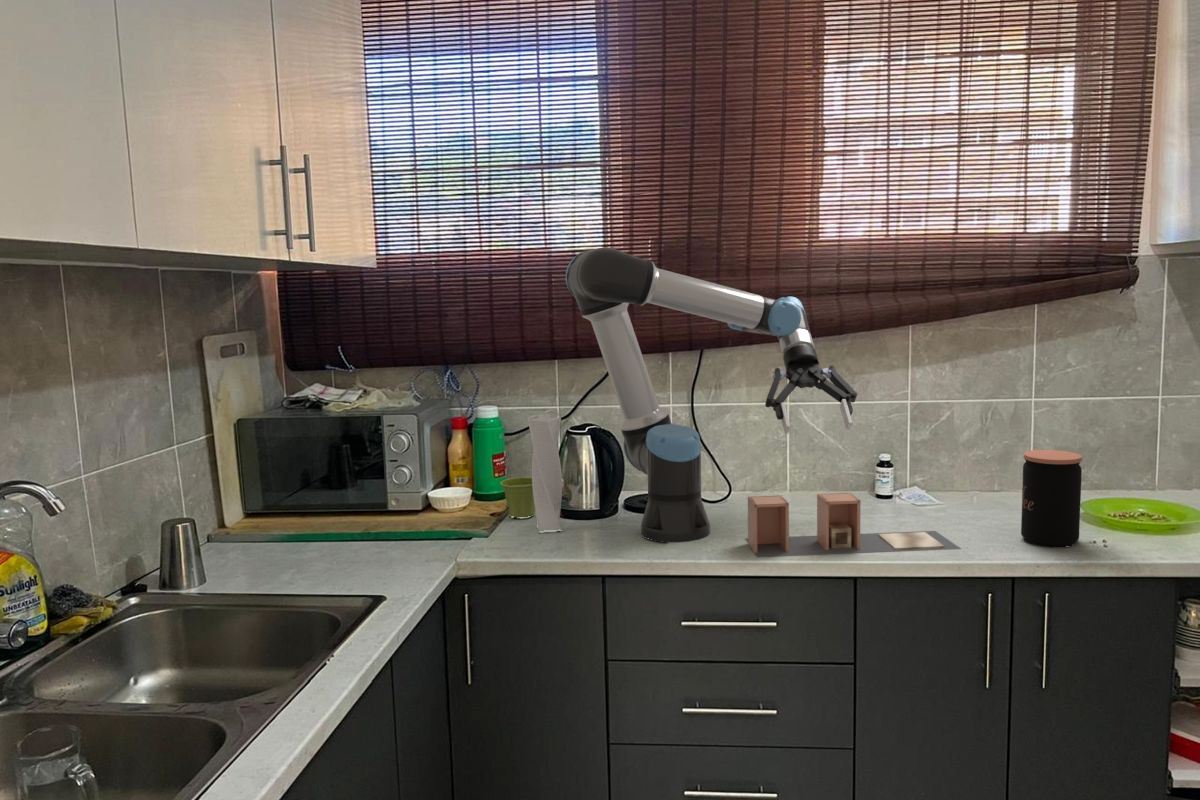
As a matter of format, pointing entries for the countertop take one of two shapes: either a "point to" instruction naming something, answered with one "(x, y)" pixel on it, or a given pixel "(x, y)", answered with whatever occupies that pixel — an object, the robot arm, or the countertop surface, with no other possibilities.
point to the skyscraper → (546, 470)
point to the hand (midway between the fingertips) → (818, 428)
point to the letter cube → (839, 535)
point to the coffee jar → (1051, 498)
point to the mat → (867, 545)
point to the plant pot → (519, 496)
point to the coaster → (910, 541)
